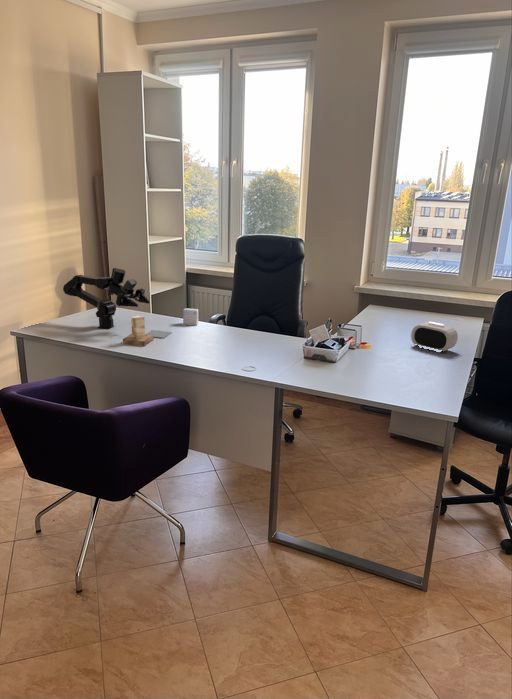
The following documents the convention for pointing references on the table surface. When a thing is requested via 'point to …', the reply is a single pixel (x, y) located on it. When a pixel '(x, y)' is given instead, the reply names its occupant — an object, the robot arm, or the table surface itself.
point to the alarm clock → (434, 336)
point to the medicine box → (190, 316)
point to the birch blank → (138, 327)
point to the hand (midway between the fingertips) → (143, 304)
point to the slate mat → (159, 334)
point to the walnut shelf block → (138, 340)
